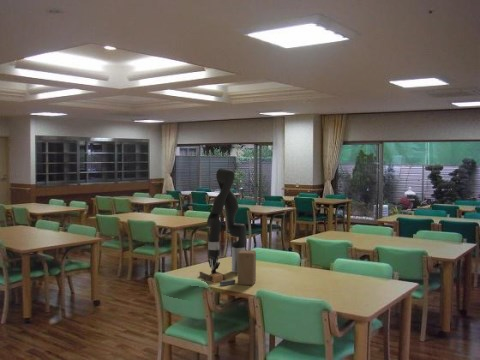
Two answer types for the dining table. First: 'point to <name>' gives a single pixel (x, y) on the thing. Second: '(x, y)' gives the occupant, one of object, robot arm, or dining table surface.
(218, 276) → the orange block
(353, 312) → the dining table surface
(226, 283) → the bar
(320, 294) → the dining table surface
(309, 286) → the dining table surface
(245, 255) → the wooden block
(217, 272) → the walnut chute
